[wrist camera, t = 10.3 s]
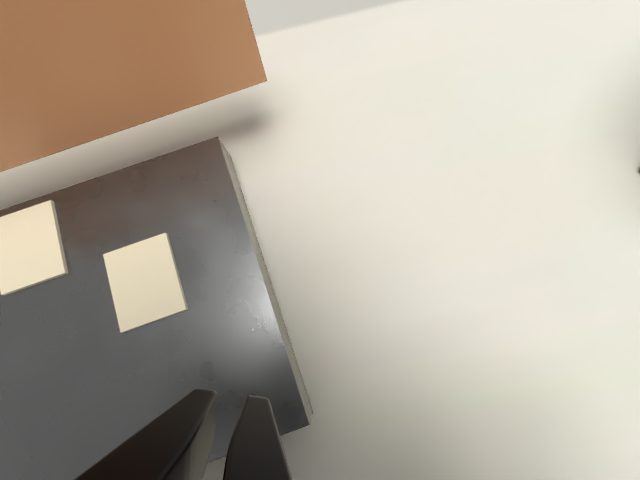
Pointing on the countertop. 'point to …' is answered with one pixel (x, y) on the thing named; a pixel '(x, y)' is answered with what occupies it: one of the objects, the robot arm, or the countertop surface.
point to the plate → (135, 313)
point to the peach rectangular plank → (113, 67)
